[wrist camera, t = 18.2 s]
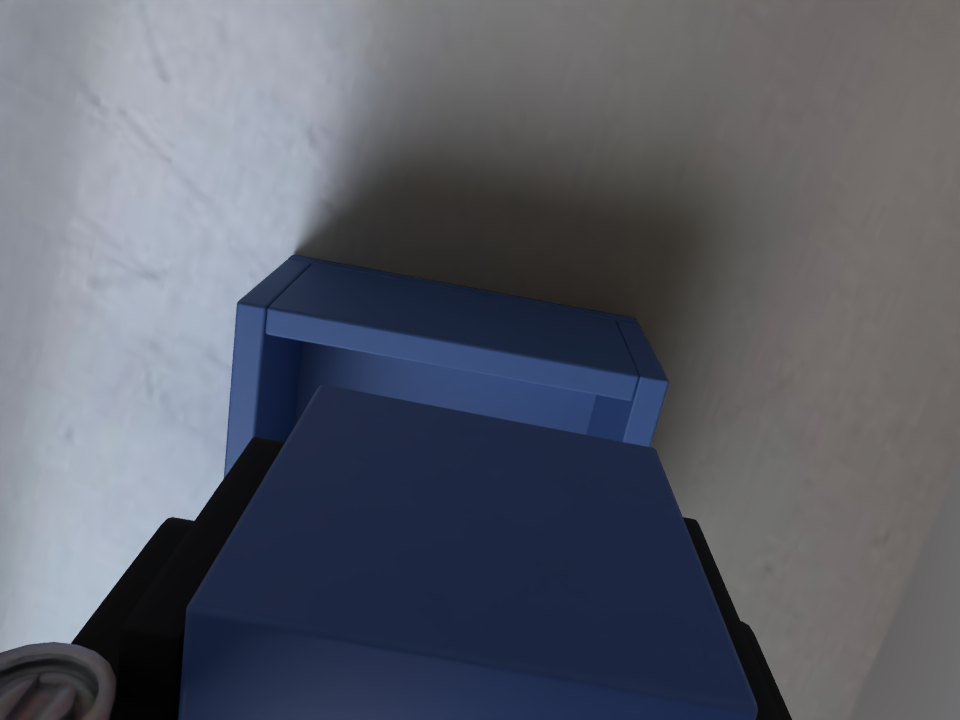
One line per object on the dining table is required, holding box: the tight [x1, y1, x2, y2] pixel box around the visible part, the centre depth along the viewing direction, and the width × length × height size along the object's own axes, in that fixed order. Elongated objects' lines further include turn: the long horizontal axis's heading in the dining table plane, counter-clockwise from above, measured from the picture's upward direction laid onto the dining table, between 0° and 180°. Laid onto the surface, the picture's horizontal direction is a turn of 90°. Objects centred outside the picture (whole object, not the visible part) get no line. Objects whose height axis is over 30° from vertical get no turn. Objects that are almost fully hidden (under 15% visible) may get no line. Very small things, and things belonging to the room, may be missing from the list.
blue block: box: [178, 385, 758, 720], centre depth 9 cm, size 5×5×5 cm
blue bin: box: [224, 255, 669, 478], centre depth 25 cm, size 12×12×6 cm
